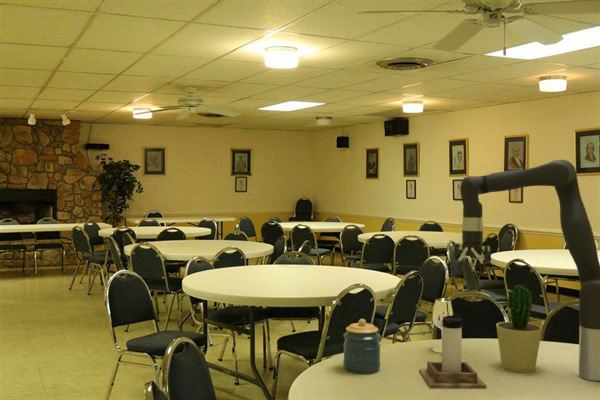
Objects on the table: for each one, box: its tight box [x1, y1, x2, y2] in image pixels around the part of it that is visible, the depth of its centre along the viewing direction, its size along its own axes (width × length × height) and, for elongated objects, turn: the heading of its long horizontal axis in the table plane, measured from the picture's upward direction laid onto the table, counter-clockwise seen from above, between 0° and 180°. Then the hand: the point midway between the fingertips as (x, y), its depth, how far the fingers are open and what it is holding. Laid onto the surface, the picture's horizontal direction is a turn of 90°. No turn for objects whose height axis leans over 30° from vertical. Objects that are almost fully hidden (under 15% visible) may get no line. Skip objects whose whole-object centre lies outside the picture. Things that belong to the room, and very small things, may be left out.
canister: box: [342, 318, 382, 375], centre depth 221 cm, size 13×13×18 cm
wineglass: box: [432, 298, 454, 354], centre depth 247 cm, size 8×8×20 cm
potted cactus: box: [495, 283, 543, 373], centre depth 225 cm, size 15×15×30 cm
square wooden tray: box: [418, 361, 488, 389], centre depth 210 cm, size 18×18×4 cm
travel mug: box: [441, 314, 463, 373], centre depth 210 cm, size 6×7×20 cm
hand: (472, 272), depth 238 cm, fingers open, 8 cm apart
